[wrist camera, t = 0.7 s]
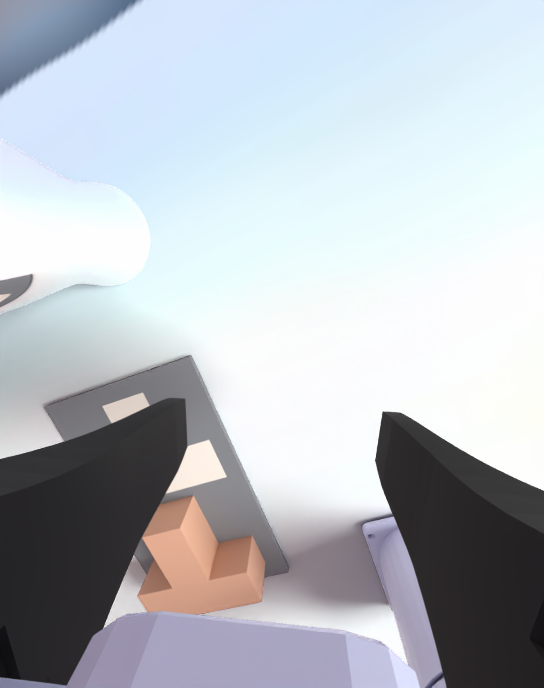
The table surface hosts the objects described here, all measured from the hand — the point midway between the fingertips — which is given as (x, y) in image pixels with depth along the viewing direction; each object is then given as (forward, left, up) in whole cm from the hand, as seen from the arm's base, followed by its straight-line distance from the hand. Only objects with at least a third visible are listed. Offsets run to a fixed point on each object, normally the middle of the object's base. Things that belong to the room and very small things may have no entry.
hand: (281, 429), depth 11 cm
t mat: (-8, +12, -10) cm, 18 cm away
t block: (-13, +12, -9) cm, 20 cm away
